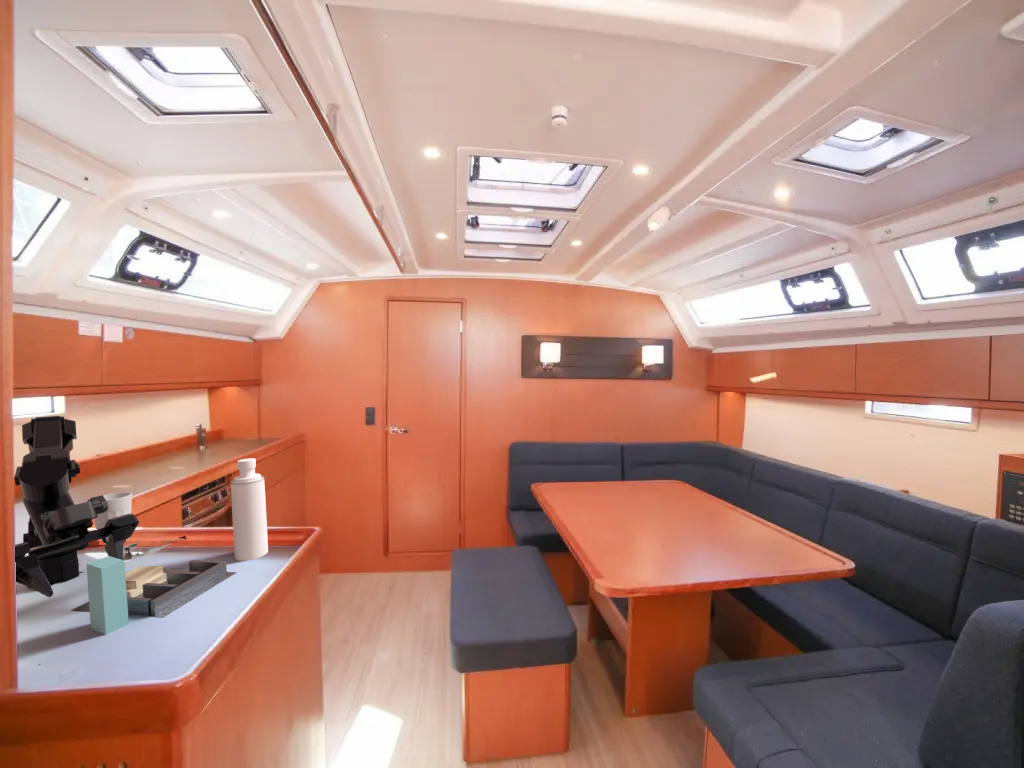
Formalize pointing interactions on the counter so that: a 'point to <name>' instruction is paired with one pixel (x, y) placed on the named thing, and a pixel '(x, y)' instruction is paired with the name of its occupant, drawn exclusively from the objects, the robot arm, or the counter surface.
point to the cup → (115, 507)
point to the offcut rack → (174, 589)
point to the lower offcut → (139, 590)
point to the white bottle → (249, 512)
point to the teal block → (107, 594)
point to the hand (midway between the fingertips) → (88, 581)
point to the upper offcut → (142, 576)
